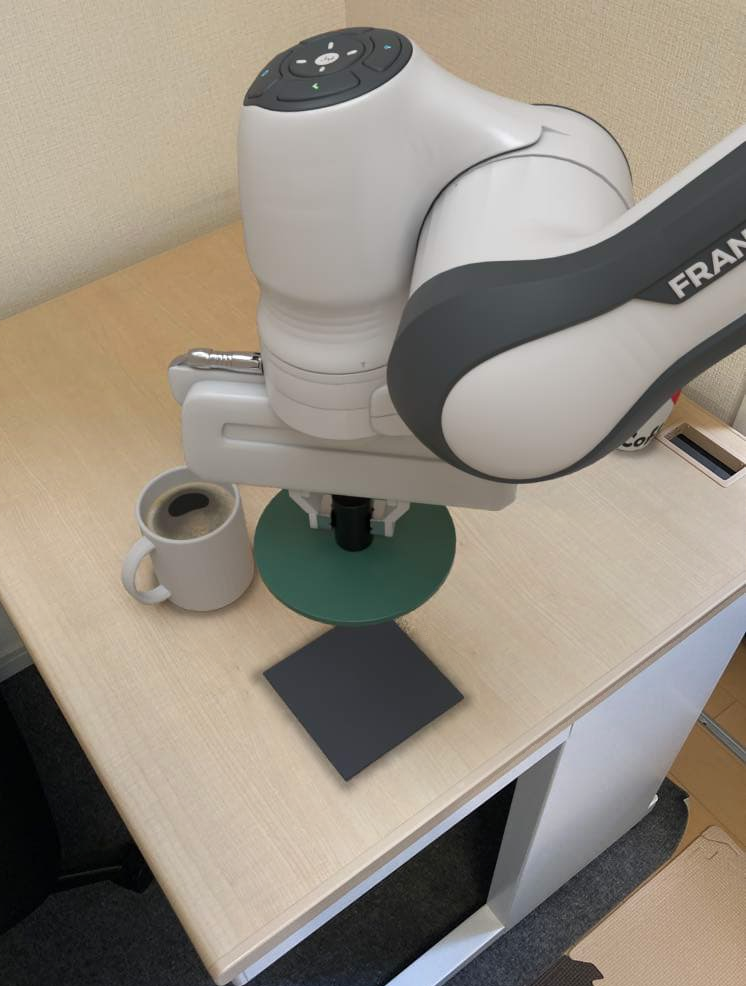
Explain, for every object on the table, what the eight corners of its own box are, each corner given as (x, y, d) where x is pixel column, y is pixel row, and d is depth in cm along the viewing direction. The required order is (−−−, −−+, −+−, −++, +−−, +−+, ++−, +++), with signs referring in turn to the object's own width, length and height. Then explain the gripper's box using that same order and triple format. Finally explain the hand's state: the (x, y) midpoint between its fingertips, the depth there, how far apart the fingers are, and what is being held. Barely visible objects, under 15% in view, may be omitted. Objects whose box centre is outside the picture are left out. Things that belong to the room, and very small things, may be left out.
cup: (615, 472, 89) (636, 396, 82) (569, 420, 94) (585, 344, 86) (683, 445, 91) (710, 368, 83) (635, 396, 96) (656, 319, 88)
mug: (251, 530, 87) (237, 457, 79) (258, 611, 81) (243, 541, 73) (138, 544, 87) (112, 472, 79) (136, 627, 81) (108, 558, 73)
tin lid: (464, 484, 65) (469, 427, 61) (444, 644, 57) (447, 592, 52) (279, 465, 67) (271, 408, 63) (233, 618, 59) (220, 565, 54)
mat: (376, 603, 81) (376, 600, 81) (464, 698, 75) (464, 696, 74) (263, 674, 77) (262, 672, 77) (346, 782, 71) (345, 779, 70)
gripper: (143, 384, 49) (189, 544, 60) (530, 419, 46) (504, 581, 56) (177, 311, 53) (214, 474, 63) (536, 339, 50) (511, 505, 60)
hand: (354, 525), depth 60 cm, fingers closed on tin lid, 2 cm apart
